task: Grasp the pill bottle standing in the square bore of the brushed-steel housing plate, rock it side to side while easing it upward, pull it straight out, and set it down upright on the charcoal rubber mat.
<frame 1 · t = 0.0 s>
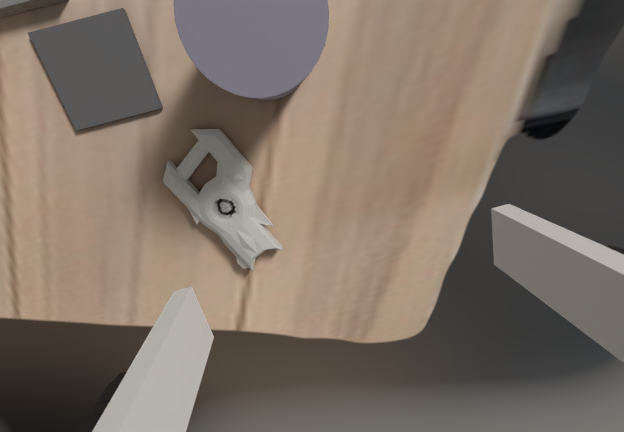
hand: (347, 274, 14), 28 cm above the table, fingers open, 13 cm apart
rubber mat: (100, 73, 35), on the table
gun: (230, 197, 41), on the table
container: (265, 51, 36), on the table
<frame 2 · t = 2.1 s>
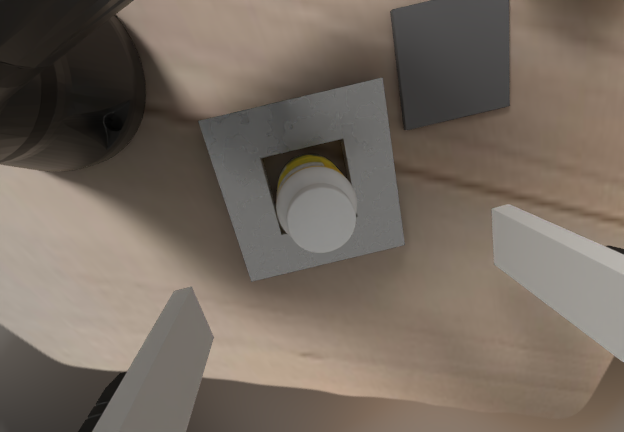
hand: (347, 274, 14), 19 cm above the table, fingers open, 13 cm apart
rubber mat: (451, 61, 29), on the table
housing plate: (309, 183, 31), on the table
pill bottle: (309, 183, 32), resting in housing plate
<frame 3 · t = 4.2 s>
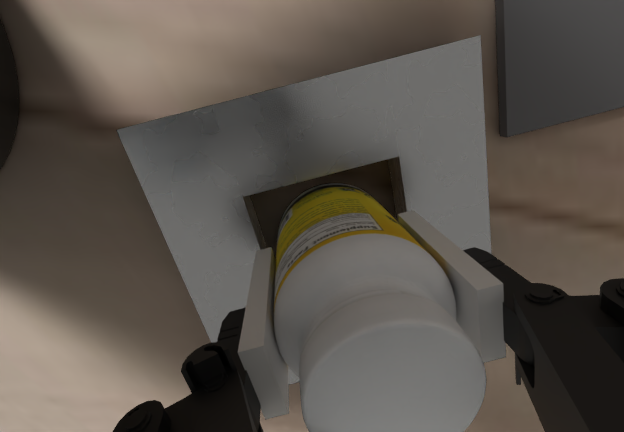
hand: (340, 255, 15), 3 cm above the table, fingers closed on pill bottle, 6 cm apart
rubber mat: (596, 7, 15), on the table
housing plate: (332, 232, 18), on the table
pill bottle: (331, 231, 18), resting in housing plate, touching gripper
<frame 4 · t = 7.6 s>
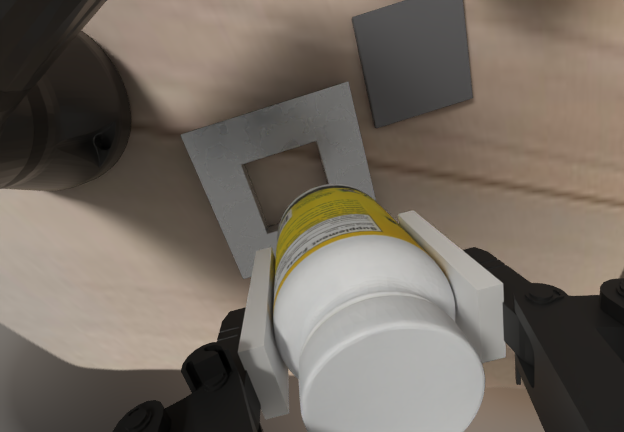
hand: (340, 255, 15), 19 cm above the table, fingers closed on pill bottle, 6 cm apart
rubber mat: (413, 60, 31), on the table
housing plate: (290, 184, 34), on the table
pill bottle: (331, 232, 18), point 16 cm above the table, touching gripper
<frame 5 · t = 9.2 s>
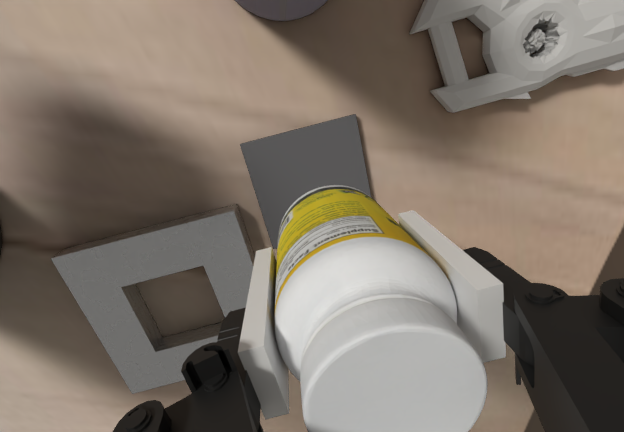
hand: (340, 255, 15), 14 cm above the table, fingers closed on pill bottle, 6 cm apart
rubber mat: (311, 184, 29), on the table
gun: (513, 37, 27), on the table
housing plate: (184, 298, 32), on the table
pill bottle: (331, 233, 18), point 11 cm above the table, touching gripper
when the fingers open (5 cm above the table, at t = 10.9 s): pill bottle drops 1 cm, resting on rubber mat.
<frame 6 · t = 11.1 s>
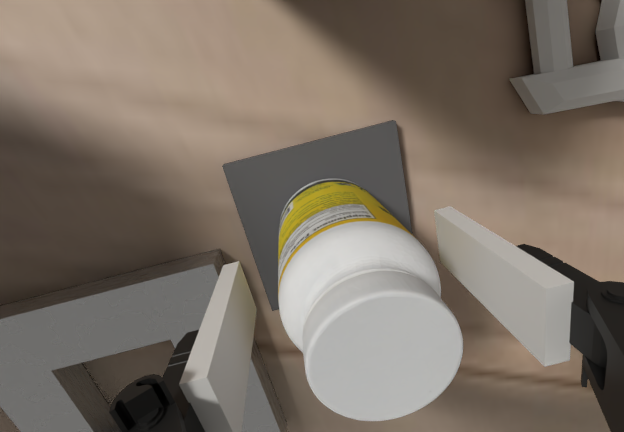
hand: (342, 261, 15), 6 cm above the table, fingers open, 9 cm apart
rubber mat: (327, 220, 20), on the table
housing plate: (149, 374, 23), on the table
pill bottle: (329, 223, 20), resting on rubber mat
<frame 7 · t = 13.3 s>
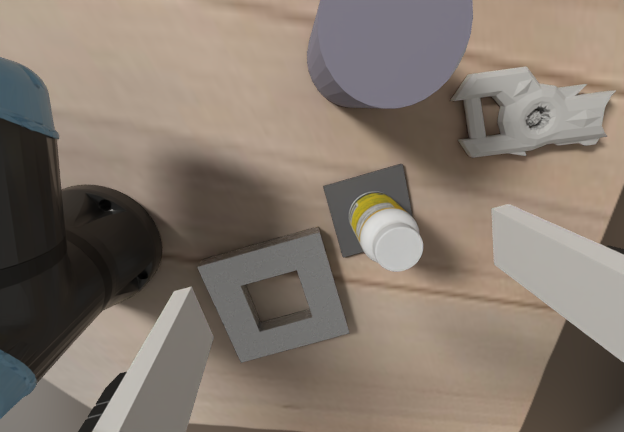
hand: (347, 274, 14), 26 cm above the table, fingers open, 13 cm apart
rubber mat: (370, 211, 41), on the table
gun: (520, 112, 39), on the table
housing plate: (278, 293, 44), on the table
container: (353, 58, 35), on the table
pill bottle: (371, 212, 41), resting on rubber mat
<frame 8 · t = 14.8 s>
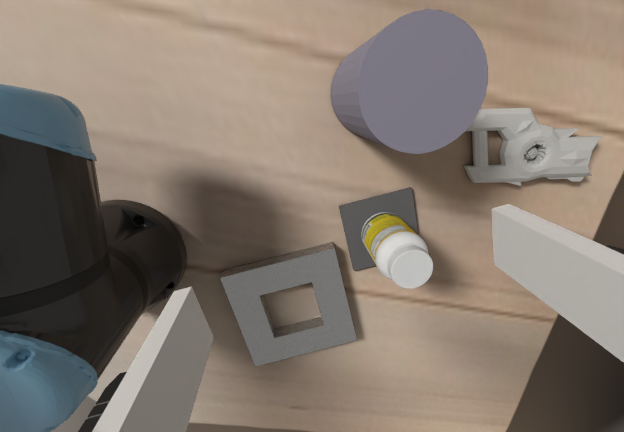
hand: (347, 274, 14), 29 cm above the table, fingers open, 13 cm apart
rubber mat: (380, 229, 45), on the table
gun: (519, 146, 43), on the table
housing plate: (292, 302, 47), on the table
container: (371, 93, 39), on the table
pill bottle: (381, 230, 44), resting on rubber mat
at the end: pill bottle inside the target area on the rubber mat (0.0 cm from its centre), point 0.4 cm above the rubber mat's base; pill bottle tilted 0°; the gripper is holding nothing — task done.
